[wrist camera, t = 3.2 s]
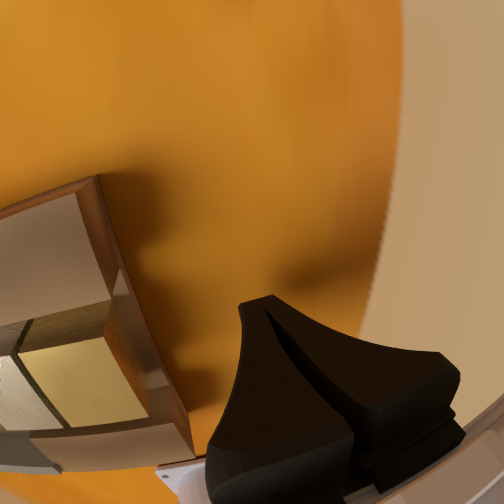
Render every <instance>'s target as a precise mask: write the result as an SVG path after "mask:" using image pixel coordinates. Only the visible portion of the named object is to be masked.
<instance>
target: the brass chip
mask: <svg viewBox="0 0 504 504" xmlns="http://www.w3.org/2000/svg"><path fill="white" fill-rule="evenodd" d="M18 355H19V357H20V359H21V360H22V362H23V363H24V365H25V366H26V368H27V369H28V371H29V372H30V374H31V375H32V377H33V378H34V379H35V381H36V382H37V384H38V385H39V387H40V388H41V389H42V391H43V392H44V393H45V395H46V396H47V397H48V399H49V400H50V401H51V403H52V404H53V405H54V406H55V408H56V409H57V410H58V411H59V413H60V414H61V415H62V416H63V418H64V419H65V420H66V421H67V422H68V423H69V425H70V426H71V427H82V426H91V425H100V424H107V423H115V422H122V421H128V420H134V419H140V418H146V417H149V398H148V372H147V370H146V368H145V366H144V364H143V362H142V360H141V358H140V356H139V354H138V352H137V350H136V348H135V346H134V343H133V341H132V339H131V337H130V335H129V333H128V330H127V328H126V326H125V324H124V321H123V319H122V317H121V315H120V312H119V310H118V307H117V305H116V303H115V300H114V298H113V296H112V299H110V300H106V301H102V302H98V303H94V304H90V305H86V306H82V307H78V308H74V309H70V310H65V311H61V312H57V313H53V314H49V315H45V316H41V317H37V318H35V320H34V322H33V324H32V326H31V327H30V329H29V331H28V333H27V335H26V337H25V339H24V341H23V343H22V346H21V348H20V350H19V352H18Z"/></svg>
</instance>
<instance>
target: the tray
mask: <svg viewBox="0 0 504 504" xmlns="http://www.w3.org/2000/svg"><path fill="white" fill-rule="evenodd" d="M29 434H30V433H0V471H5V472H15V473H27V474H48V475H61V473H62V470H61V469H60V468H59V467H58V466H56V465H55V464H54V463H53V462H52V461H51V460H50V459H49V458H48V457H47V456H46V455H44V454H43V453H42V452H41V451H40V450H39V449H38V448H37V447H36V446H35V445H34V444H33V443H32V442H31V441H30V440H29V439H28V438H29Z"/></svg>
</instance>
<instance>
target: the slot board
mask: <svg viewBox="0 0 504 504" xmlns="http://www.w3.org/2000/svg"><path fill="white" fill-rule="evenodd" d="M112 296H113V298H114V300H115V303H116V305H117V307H118V310H119V312H120V315H121V317H122V319H123V321H124V324H125V326H126V328H127V330H128V333H129V335H130V337H131V339H132V341H133V343H134V346H135V348H136V350H137V352H138V354H139V356H140V358H141V360H142V362H143V364H144V366H145V368H146V370H147V372H148V398H149V417H146V418H140V419H134V420H128V421H122V422H115V423H107V424H100V425H91V426H82V427H71V426H70V425H69V423H68V422H67V421H65V426H64V428H59V429H42V430H6V429H5V428H4V427H3V426H2V424H1V423H0V433H30V434H29V438H28V439H29V440H30V441H31V442H32V443H33V444H34V445H35V446H36V447H37V448H38V449H39V450H40V451H41V452H42V453H43V454H44V455H46V456H47V457H48V458H49V459H50V460H51V461H52V462H53V463H54V464H55V465H56V466H58V467H59V468H60V469H61V470H62V471H63V472H89V471H106V470H119V469H129V468H138V467H146V466H153V465H160V464H166V463H172V462H178V461H184V460H189V459H194V458H196V456H195V451H194V446H193V440H192V435H191V429H190V422H189V416H188V412H187V410H186V408H185V406H184V404H183V402H182V400H181V398H180V396H179V394H178V392H177V390H176V388H175V386H174V384H173V382H172V380H171V378H170V376H169V374H168V372H167V369H166V367H165V365H164V363H163V361H162V358H161V356H160V354H159V352H158V349H157V347H156V345H155V342H154V340H153V338H152V335H151V333H150V331H149V328H148V326H147V323H146V321H145V318H144V316H143V313H142V311H141V308H140V306H139V303H138V301H137V298H136V295H135V293H134V290H133V287H132V284H131V282H130V279H129V276H128V273H127V270H126V268H125V265H124V262H123V259H122V256H121V253H120V250H119V247H118V244H117V241H116V237H115V234H114V231H113V228H112V224H111V221H110V218H109V214H108V211H107V207H106V204H105V200H104V196H103V193H102V189H101V185H100V181H99V177H98V174H97V175H94V176H90V177H87V178H84V179H81V180H78V181H75V182H72V183H69V184H66V185H63V186H60V187H58V188H55V189H52V190H49V191H47V192H44V193H41V194H39V195H36V196H33V197H31V198H28V199H26V200H23V201H21V202H18V203H16V204H13V205H11V206H8V207H6V208H4V209H1V210H0V326H3V325H7V324H12V323H16V322H20V321H24V320H28V319H32V321H33V322H34V320H35V318H37V317H41V316H45V315H49V314H53V313H57V312H61V311H65V310H70V309H74V308H78V307H82V306H86V305H90V304H94V303H98V302H102V301H106V300H110V299H112Z"/></svg>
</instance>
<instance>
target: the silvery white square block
mask: <svg viewBox="0 0 504 504" xmlns="http://www.w3.org/2000/svg"><path fill="white" fill-rule="evenodd" d="M32 324H33V321H32V319H28V320H24V321H20V322H16V323H12V324H7V325H3V326H0V423H1V424H2V426H3V427H4V428H5V429H6V430H42V429H59V428H64V426H65V421H66V420H65V419H64V418H63V416H62V415H61V414H60V413H59V411H58V410H57V409H56V408H55V406H54V405H53V404H52V403H51V401H50V400H49V399H48V397H47V396H46V395H45V393H44V392H43V391H42V389H41V388H40V387H39V385H38V384H37V382H36V381H35V379H34V378H33V377H32V375H31V374H30V372H29V371H28V369H27V368H26V366H25V365H24V363H23V362H22V360H21V359H20V357H19V355H18V352H19V350H20V348H21V346H22V343H23V341H24V339H25V337H26V335H27V333H28V331H29V329H30V327H31V326H32Z"/></svg>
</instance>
